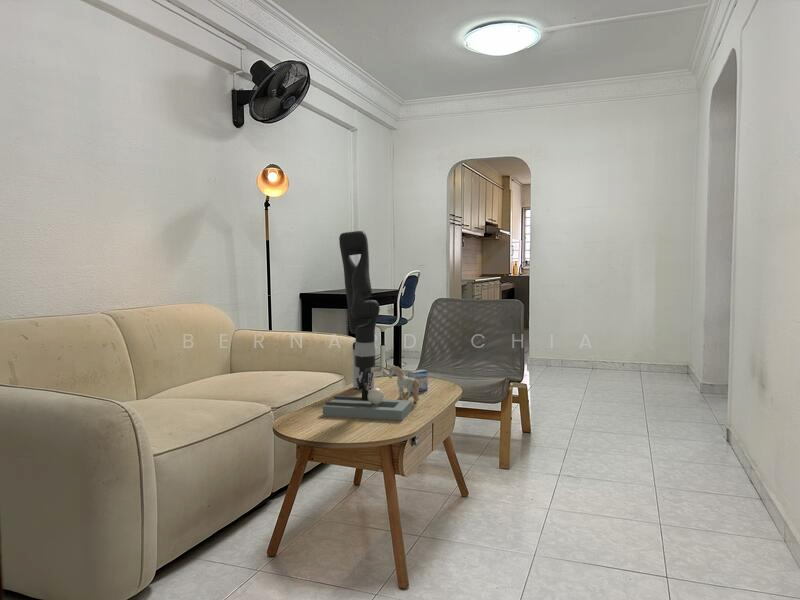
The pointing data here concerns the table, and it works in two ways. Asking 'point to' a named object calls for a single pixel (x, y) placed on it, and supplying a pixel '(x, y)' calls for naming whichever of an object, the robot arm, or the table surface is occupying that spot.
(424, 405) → the table surface
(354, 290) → the robot arm
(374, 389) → the plastic ball
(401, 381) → the unicorn figurine
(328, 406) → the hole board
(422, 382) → the medicine box
